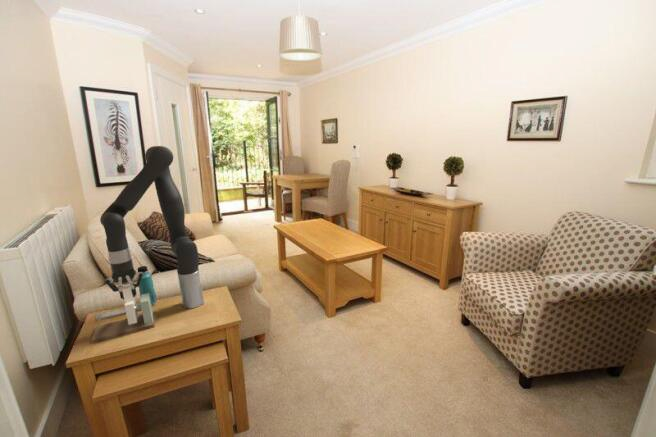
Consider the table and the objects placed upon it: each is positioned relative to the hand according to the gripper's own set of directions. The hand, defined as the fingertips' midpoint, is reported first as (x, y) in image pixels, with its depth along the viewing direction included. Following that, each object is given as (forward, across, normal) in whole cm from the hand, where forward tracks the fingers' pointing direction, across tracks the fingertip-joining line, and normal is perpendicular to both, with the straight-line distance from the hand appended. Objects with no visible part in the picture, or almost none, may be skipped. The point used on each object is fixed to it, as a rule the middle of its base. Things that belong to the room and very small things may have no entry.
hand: (129, 297), depth 131 cm
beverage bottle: (+14, -5, -17) cm, 22 cm away
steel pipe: (+7, +4, 0) cm, 8 cm away
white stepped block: (+10, 0, 0) cm, 10 cm away
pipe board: (+14, +4, 0) cm, 14 cm away
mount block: (+12, -5, 0) cm, 13 cm away
